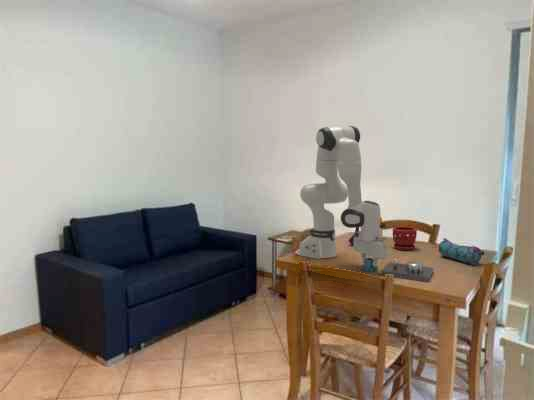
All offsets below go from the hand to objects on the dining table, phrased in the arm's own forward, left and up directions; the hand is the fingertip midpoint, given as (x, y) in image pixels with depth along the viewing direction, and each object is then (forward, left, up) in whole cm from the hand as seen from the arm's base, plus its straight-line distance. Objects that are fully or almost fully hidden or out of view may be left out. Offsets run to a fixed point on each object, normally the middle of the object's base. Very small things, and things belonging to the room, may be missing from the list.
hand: (369, 264), depth 187 cm
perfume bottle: (-20, +44, -3) cm, 48 cm away
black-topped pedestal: (-16, +65, -3) cm, 67 cm away
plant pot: (+6, +50, -3) cm, 50 cm away
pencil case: (+36, +38, -3) cm, 52 cm away
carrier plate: (+17, +2, -3) cm, 17 cm away
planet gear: (0, 0, -3) cm, 3 cm away
